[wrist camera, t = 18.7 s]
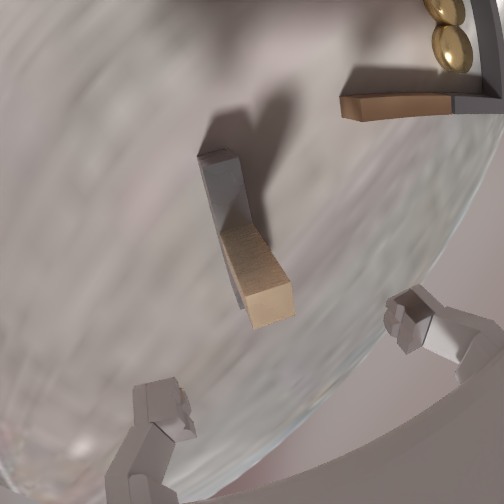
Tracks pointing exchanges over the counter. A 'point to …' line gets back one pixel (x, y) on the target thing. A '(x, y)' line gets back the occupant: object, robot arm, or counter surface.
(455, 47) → the brass chip
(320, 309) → the counter surface
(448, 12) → the brass chip
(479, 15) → the grey angled bracket
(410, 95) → the walnut slot rails
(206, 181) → the grey post with peg
